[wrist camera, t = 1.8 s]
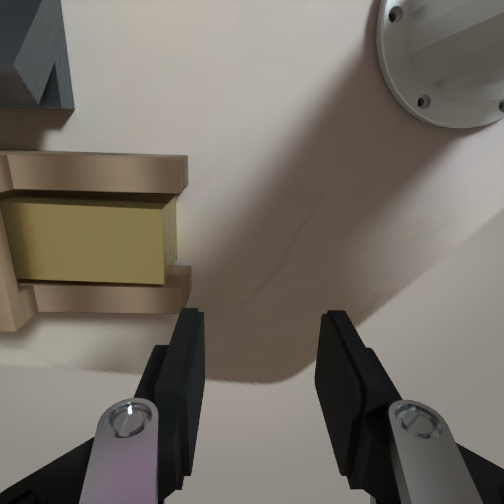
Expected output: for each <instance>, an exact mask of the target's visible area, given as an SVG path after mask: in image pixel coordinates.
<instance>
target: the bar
mask: <svg viewBox="0 0 504 504" xmlns="http://www.w3.org/2000/svg"><path fill="white" fill-rule="evenodd" d="M0 208H1V212H2V217H3V221H4V226H5V231H6V235H7V240H8V244H9V249H10V253H11V258H12V263H13V267H14V272H15V276H16V279H39V280H66V281H92V282H119V283H145V284H165V282H166V280H167V278H168V276H169V274H170V272H171V270H172V268H173V266H174V264H175V262H176V260H177V225H176V195H158V194H137V193H117V192H97V191H72V190H38V189H11V190H7V191H4V192H0Z"/></svg>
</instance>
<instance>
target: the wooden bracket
mask: <svg viewBox="0 0 504 504" xmlns="http://www.w3.org/2000/svg"><path fill="white" fill-rule="evenodd" d="M187 185H188V156H186V155H156V154H125V153H95V152H64V151H34V150H3V149H0V192H4V191H7V190H11V189H38V190H72V191H107V192H142V193H177V194H179V193H180V192H181V191H182V190H183V189H184V188H185V187H186V186H187ZM190 292H191V266H173V268H172V270H171V272H170V274H169V276H168V278H167V280H166V282H165V284H145V283H119V282H92V281H66V280H39V279H16V276H15V272H14V267H13V263H12V258H11V253H10V249H9V244H8V240H7V235H6V231H5V226H4V221H3V217H2V212H1V208H0V331H7V332H16V331H17V330H19V329H20V328H21V327H22V326H23V325H24V324H25V323H26V322H27V321H29V320H30V319H31V318H32V317H33V316H34V315H35V314H36V313H38V312H98V313H161V314H180V311H181V309H182V308H185V307H186V304H187V301H188V298H189V295H190Z"/></svg>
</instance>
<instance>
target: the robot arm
mask: <svg viewBox="0 0 504 504" xmlns="http://www.w3.org/2000/svg"><path fill="white" fill-rule="evenodd" d="M389 15H392V16H393V22H391V21H390V20H389ZM376 46H377V53H378V59H379V65H380V68H381V71H382V74H383V77H384V79H385V82H386V84H387V86H388V88H389V89H390V91H391V93H392V94H393V96H394V98H395V99H396V100H397V101H398V102H399V103H400V104H401V105H402V107H403V108H404V109H405V110H406V111H407V112H409V113H410V114H412V115H413V116H415V117H416V118H418V119H419V120H421V121H424V122H427V123H429V124H432V125H434V126H439V127H446V128H471V127H477V126H483V125H487V124H490V123H493V122H495V121H498V120H501V119H503V118H504V0H381V2H380V8H379V14H378V19H377V37H376ZM418 99H420V101H421V104H420V106H418ZM204 384H205V345H204V312H198V308H182V309H181V311H180V314H179V317H178V320H177V323H176V326H175V329H174V332H173V335H172V338H171V341H170V344H169V345H155V347H154V348H153V351H152V353H151V356H150V358H149V361H148V363H147V366H146V368H145V371H144V373H143V376H142V378H141V380H140V383H139V385H138V388H137V391H136V393H135V396H134V398H130V399H126V400H122V401H120V402H118V403H116V404H114V405H112V406H111V407H110V408H108V409H107V410H106V411H105V412H104V413H103V415H102V416H101V418H100V420H99V422H98V425H97V430H96V434H95V437H93V438H91V439H90V440H88V441H86V442H85V443H83V444H81V445H80V446H78V447H76V448H75V449H73V450H71V451H70V452H68V453H66V454H64V455H63V456H61V457H59V458H58V459H56V460H54V461H53V462H51V463H49V464H48V465H46V466H44V467H42V468H41V469H39V470H37V471H36V472H34V473H33V474H31V475H29V476H27V477H26V478H24V479H22V480H21V481H19V482H17V483H15V484H14V485H12V486H10V487H9V488H7V489H6V490H4V491H3V492H1V493H0V504H165V498H166V497H168V496H169V495H170V494H171V493H172V492H174V491H175V490H182V486H183V480H184V476H191V472H192V465H193V459H194V451H195V445H196V439H197V431H198V425H199V419H200V412H201V405H202V398H203V392H204ZM315 387H316V391H317V394H318V398H319V401H320V405H321V408H322V412H323V415H324V419H325V422H326V426H327V429H328V433H329V437H330V440H331V444H332V447H333V450H334V454H335V458H336V461H337V464H338V468H339V471H340V474H341V475H342V476H347V479H348V483H349V486H350V489H363V490H365V491H366V492H367V493H369V494H370V503H371V504H504V469H503V468H501V467H499V466H497V465H495V464H493V463H492V462H490V461H488V460H486V459H484V458H483V457H481V456H479V455H477V454H475V453H474V452H471V451H470V450H468V449H466V448H464V447H463V446H461V445H459V444H457V443H456V442H455V440H454V438H453V436H452V434H451V432H450V429H449V427H448V425H447V423H446V422H445V420H444V419H443V417H442V416H441V415H440V414H438V413H437V412H436V411H435V410H433V409H432V408H430V407H429V406H427V405H425V404H422V403H420V402H416V401H412V400H402V398H401V396H400V395H399V393H398V391H397V389H396V388H395V386H394V384H393V383H392V381H391V379H390V378H389V376H388V374H387V373H386V371H385V369H384V368H383V366H382V364H381V363H380V361H379V359H378V357H377V356H376V354H375V352H374V351H373V350H372V349H371V348H366V347H365V345H364V344H363V342H362V340H361V338H360V336H359V335H358V333H357V331H356V329H355V328H354V326H353V324H352V322H351V321H350V319H349V317H348V315H347V314H346V312H345V311H344V310H328V312H327V314H323V315H322V318H321V326H320V335H319V343H318V352H317V360H316V370H315Z"/></svg>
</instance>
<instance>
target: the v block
mask: <svg viewBox="0 0 504 504" xmlns="http://www.w3.org/2000/svg"><path fill="white" fill-rule="evenodd" d="M0 107H13V108H40V109H67V110H75V108H74V100H73V92H72V85H71V77H70V69H69V62H68V54H67V46H66V39H65V31H64V23H63V16H62V8H61V1H60V0H0Z"/></svg>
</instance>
